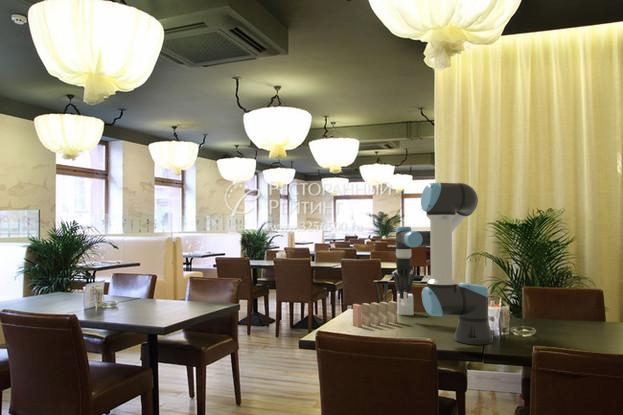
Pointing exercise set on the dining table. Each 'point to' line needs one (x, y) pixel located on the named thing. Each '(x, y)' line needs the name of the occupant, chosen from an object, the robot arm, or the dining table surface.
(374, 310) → the domino
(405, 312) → the small box
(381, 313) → the domino
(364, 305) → the domino
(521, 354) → the dining table surface
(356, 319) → the domino
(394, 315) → the domino
